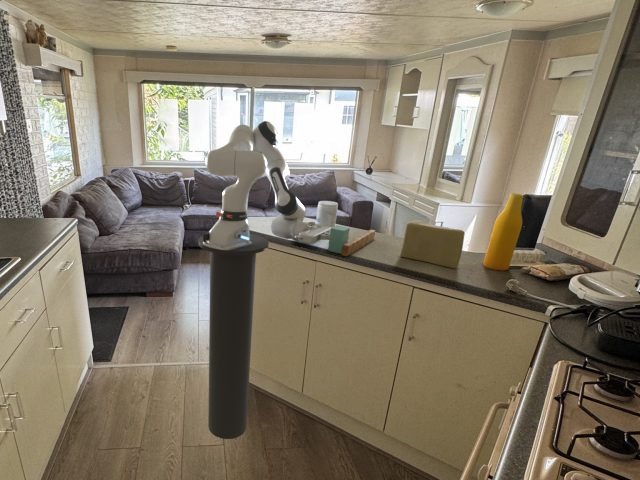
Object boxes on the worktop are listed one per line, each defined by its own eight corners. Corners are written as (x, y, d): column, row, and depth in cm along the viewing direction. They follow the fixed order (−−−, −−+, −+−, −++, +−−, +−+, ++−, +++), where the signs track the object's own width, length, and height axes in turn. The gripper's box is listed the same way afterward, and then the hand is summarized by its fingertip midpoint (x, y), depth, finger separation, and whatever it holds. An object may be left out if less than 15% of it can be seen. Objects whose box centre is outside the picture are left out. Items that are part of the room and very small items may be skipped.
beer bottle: (509, 272, 168) (532, 197, 156) (482, 268, 171) (503, 194, 160) (507, 265, 175) (530, 194, 163) (482, 261, 179) (502, 191, 167)
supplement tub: (311, 230, 217) (315, 200, 211) (329, 229, 219) (332, 200, 213) (319, 235, 208) (323, 204, 202) (337, 234, 210) (341, 204, 204)
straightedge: (346, 256, 179) (348, 246, 177) (341, 255, 180) (342, 244, 178) (373, 239, 204) (375, 230, 203) (368, 238, 206) (370, 229, 204)
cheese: (461, 266, 173) (471, 229, 166) (452, 271, 166) (461, 233, 160) (409, 252, 187) (416, 218, 181) (399, 256, 181) (405, 221, 175)
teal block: (341, 253, 182) (344, 230, 178) (327, 250, 185) (330, 228, 181) (346, 250, 186) (349, 227, 182) (333, 247, 189) (336, 225, 185)
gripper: (293, 229, 183) (323, 235, 176) (314, 221, 199) (342, 226, 192) (292, 244, 186) (321, 250, 179) (312, 234, 201) (340, 239, 194)
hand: (332, 237), depth 185 cm, fingers closed, pressing on teal block
